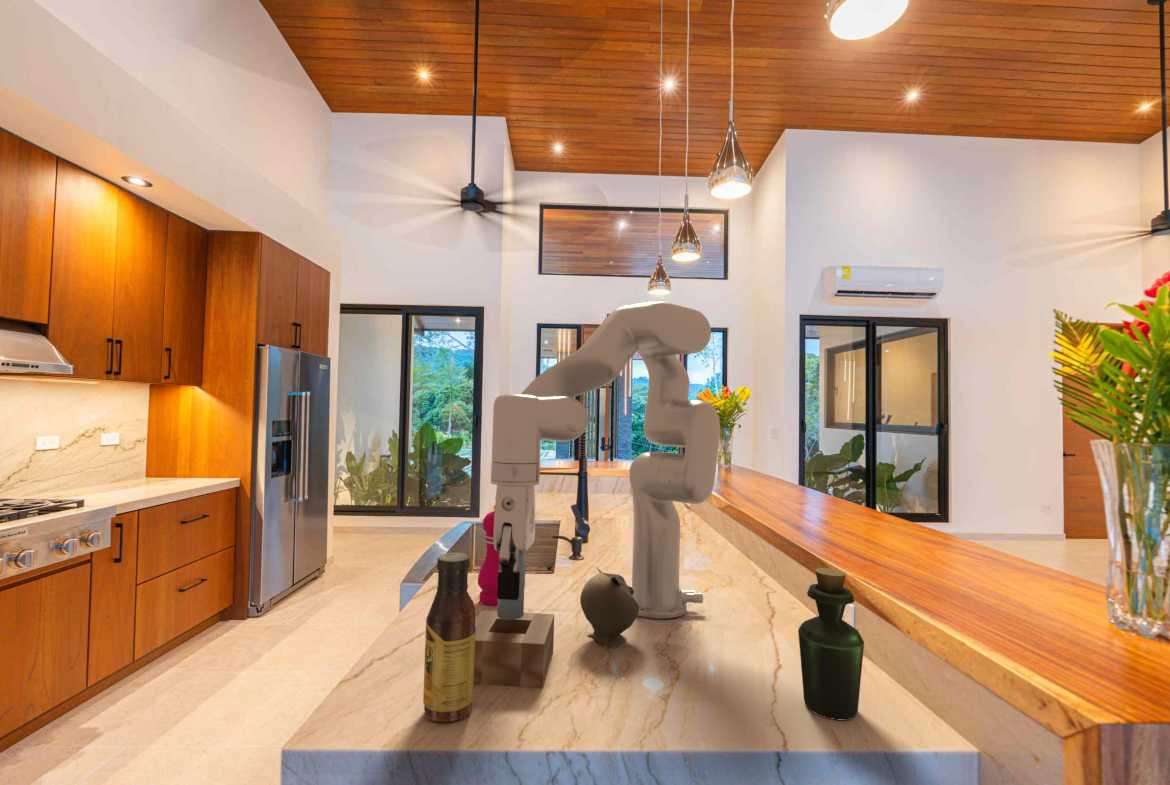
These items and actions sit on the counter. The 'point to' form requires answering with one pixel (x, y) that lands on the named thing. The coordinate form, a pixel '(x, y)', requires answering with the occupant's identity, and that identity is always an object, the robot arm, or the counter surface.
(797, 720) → the counter surface
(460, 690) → the sauce bottle
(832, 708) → the potion bottle
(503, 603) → the peg
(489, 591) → the pepper mill
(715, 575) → the counter surface
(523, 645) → the socket block
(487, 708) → the counter surface
